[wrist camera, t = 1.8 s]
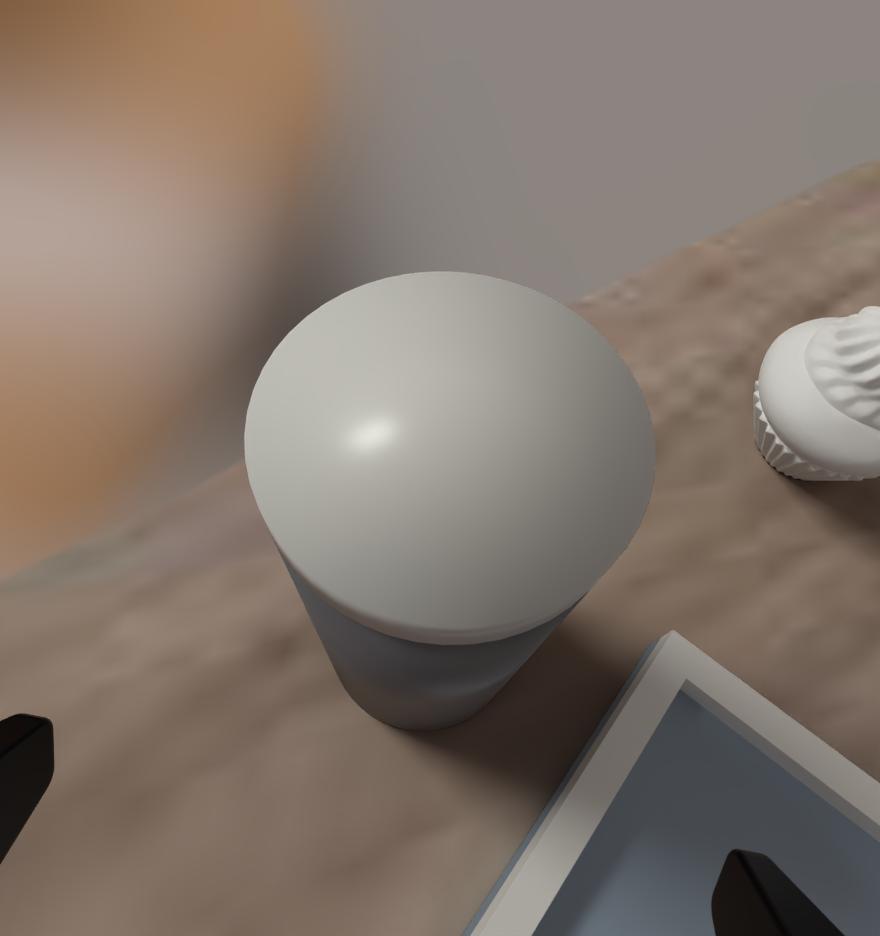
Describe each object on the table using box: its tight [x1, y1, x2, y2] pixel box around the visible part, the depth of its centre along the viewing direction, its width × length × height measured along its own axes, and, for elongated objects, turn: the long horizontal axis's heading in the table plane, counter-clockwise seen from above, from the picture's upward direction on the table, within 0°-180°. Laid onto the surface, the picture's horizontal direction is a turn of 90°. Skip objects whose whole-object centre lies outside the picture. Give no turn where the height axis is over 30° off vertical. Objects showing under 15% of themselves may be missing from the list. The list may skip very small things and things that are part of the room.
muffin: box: [754, 306, 880, 481], centre depth 22 cm, size 6×6×7 cm
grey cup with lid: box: [244, 271, 656, 731], centre depth 15 cm, size 6×6×13 cm
